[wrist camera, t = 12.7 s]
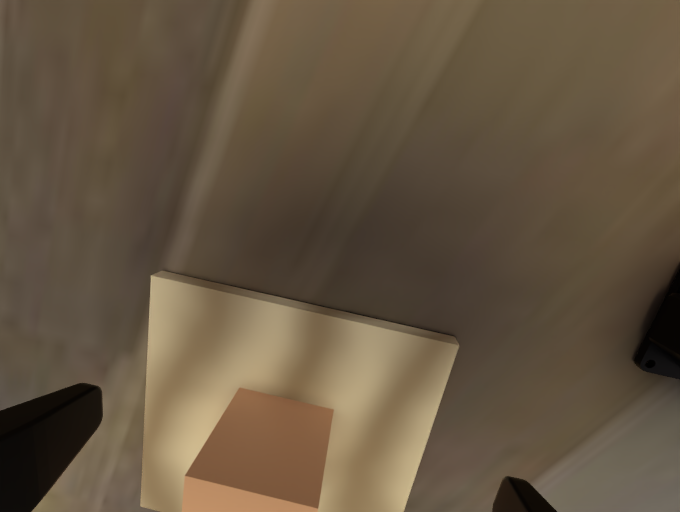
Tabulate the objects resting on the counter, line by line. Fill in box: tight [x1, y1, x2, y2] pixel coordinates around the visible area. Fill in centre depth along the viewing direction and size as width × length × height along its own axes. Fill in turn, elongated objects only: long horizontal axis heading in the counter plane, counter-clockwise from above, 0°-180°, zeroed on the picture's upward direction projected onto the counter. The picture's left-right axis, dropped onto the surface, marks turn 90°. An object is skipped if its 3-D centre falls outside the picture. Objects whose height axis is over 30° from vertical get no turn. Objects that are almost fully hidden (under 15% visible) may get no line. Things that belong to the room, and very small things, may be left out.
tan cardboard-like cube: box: [182, 387, 334, 512], centre depth 17 cm, size 6×6×6 cm
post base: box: [140, 271, 459, 512], centre depth 19 cm, size 18×18×6 cm
